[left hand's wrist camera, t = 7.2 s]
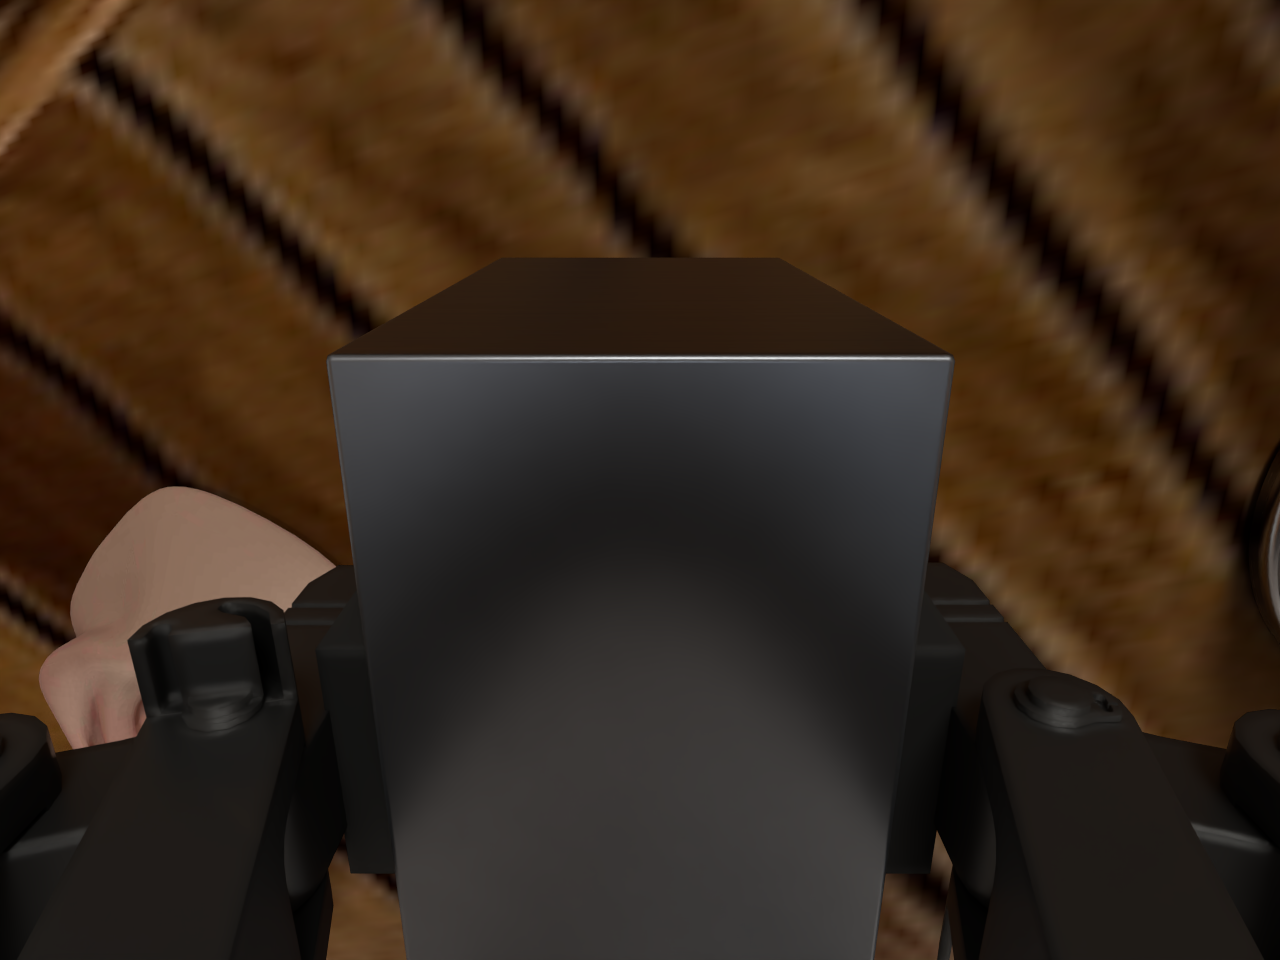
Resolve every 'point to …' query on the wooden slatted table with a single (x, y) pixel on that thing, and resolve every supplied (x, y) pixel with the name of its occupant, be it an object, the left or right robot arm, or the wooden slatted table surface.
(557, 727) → the bar
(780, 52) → the wooden slatted table surface
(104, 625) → the anatomical model
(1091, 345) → the wooden slatted table surface
